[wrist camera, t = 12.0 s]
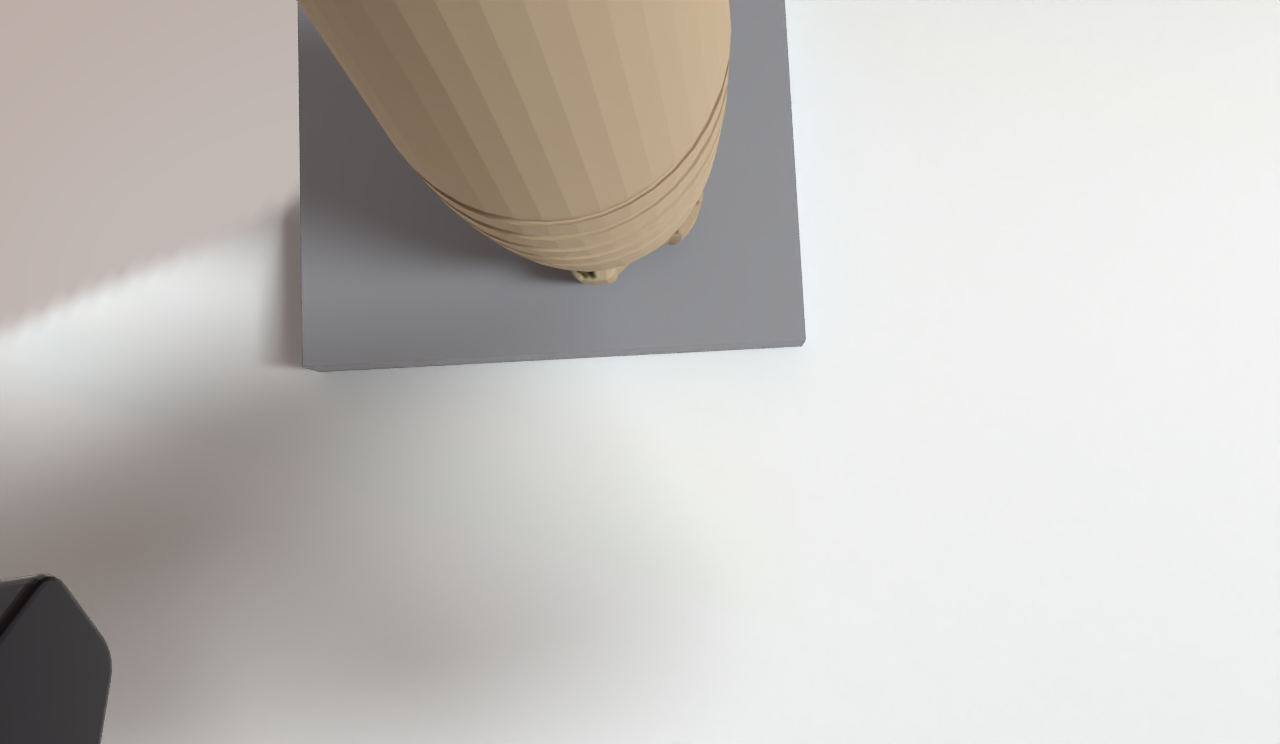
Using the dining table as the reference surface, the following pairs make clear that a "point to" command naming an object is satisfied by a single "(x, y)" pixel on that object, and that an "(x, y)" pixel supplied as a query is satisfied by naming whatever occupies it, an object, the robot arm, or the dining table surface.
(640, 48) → the handle
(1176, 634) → the dining table surface
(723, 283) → the end pad
